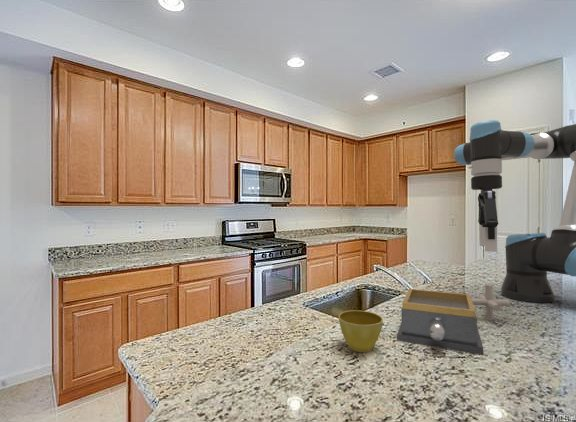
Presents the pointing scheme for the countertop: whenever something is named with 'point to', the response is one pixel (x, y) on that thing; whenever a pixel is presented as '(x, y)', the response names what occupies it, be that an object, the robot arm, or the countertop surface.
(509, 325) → the countertop surface
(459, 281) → the countertop surface
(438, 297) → the grey gold-rimmed box
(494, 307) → the pipe connector
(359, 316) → the flower pot
